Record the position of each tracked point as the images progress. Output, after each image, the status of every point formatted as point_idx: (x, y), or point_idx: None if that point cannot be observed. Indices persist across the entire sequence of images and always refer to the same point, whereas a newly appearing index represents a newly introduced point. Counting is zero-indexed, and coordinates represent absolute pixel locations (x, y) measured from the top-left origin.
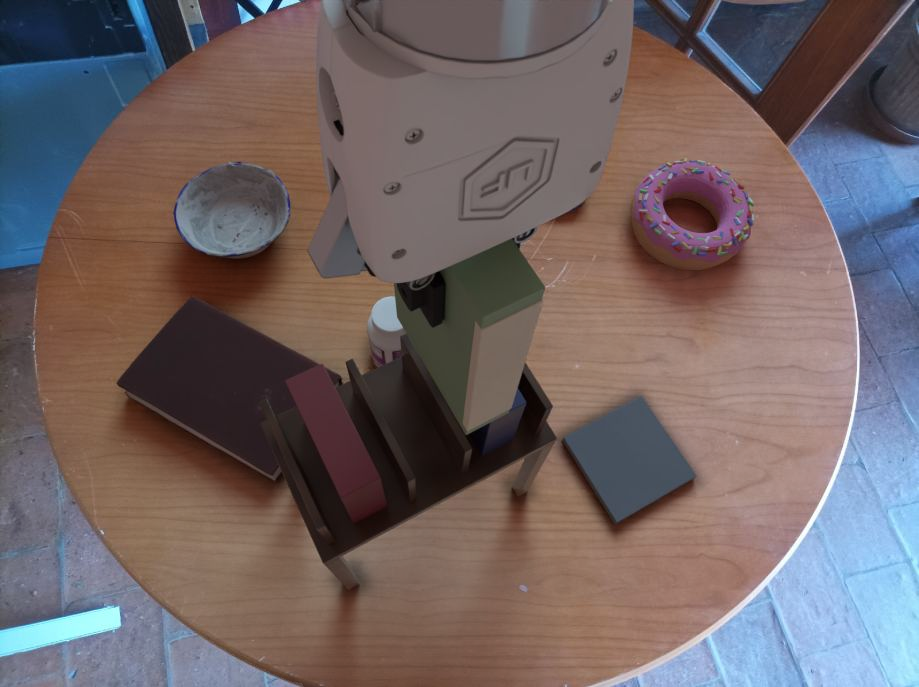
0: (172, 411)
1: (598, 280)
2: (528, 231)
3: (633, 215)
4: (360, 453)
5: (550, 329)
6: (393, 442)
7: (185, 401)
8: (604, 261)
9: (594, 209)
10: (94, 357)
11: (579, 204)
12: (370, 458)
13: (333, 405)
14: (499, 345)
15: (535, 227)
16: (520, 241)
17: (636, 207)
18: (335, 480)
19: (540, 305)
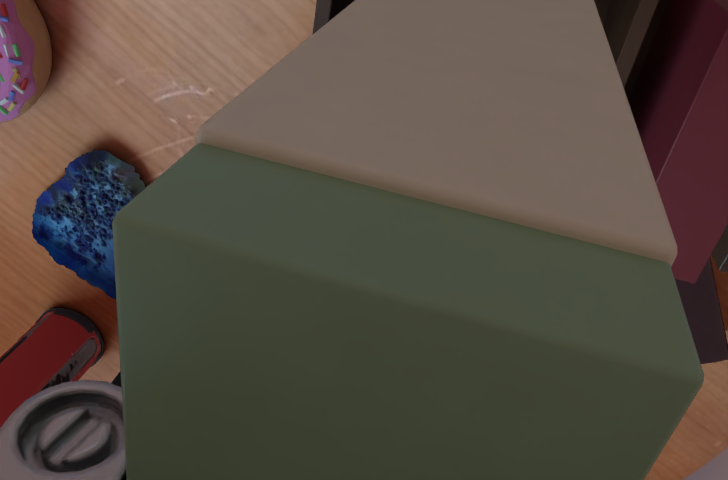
0: (710, 289)
1: (133, 51)
2: (55, 430)
3: (35, 92)
4: (717, 85)
5: (232, 40)
6: (624, 58)
7: (687, 288)
8: (110, 67)
9: (81, 133)
10: (711, 390)
11: (94, 152)
12: (712, 63)
13: (671, 193)
14: (511, 80)
15: (14, 426)
16: (121, 403)
17: (25, 98)
18: None
19: (231, 115)
